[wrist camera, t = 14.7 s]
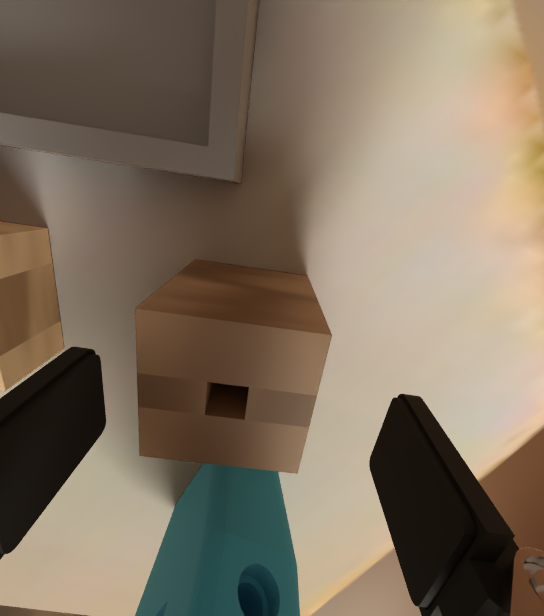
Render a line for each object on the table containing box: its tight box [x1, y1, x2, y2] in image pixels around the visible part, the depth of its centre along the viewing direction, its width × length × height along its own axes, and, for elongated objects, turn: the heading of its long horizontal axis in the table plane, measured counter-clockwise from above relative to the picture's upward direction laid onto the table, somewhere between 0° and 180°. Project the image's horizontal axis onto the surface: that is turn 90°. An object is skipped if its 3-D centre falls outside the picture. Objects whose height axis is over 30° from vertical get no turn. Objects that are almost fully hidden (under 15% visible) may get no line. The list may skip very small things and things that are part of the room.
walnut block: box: [135, 260, 332, 474], centre depth 13 cm, size 6×6×7 cm
